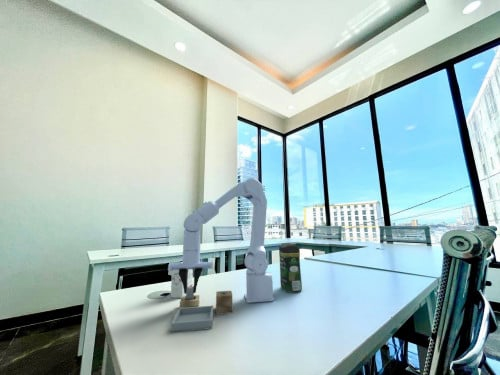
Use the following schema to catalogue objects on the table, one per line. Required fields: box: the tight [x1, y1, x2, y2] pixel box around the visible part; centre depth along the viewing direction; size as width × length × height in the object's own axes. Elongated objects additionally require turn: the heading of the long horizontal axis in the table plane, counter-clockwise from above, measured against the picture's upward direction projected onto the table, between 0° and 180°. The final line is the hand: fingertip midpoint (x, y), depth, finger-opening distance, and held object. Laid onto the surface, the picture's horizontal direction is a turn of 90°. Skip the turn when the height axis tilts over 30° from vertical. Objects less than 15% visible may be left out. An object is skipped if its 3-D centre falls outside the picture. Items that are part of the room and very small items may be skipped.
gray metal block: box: [186, 285, 195, 300], centre depth 68 cm, size 2×2×5 cm
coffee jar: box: [278, 242, 303, 293], centre depth 87 cm, size 10×8×19 cm
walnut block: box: [215, 290, 233, 315], centre depth 66 cm, size 5×5×5 cm
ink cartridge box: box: [170, 257, 194, 299], centre depth 83 cm, size 9×5×15 cm, turn 168°
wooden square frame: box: [179, 294, 201, 308], centre depth 68 cm, size 6×6×3 cm
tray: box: [170, 305, 214, 333], centre depth 58 cm, size 10×10×2 cm
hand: (190, 292), depth 69 cm, fingers closed on gray metal block, 2 cm apart
